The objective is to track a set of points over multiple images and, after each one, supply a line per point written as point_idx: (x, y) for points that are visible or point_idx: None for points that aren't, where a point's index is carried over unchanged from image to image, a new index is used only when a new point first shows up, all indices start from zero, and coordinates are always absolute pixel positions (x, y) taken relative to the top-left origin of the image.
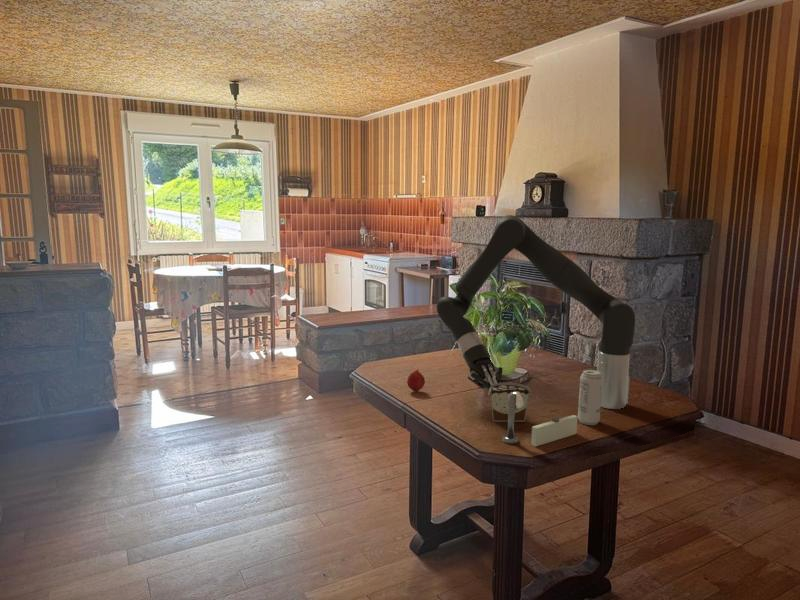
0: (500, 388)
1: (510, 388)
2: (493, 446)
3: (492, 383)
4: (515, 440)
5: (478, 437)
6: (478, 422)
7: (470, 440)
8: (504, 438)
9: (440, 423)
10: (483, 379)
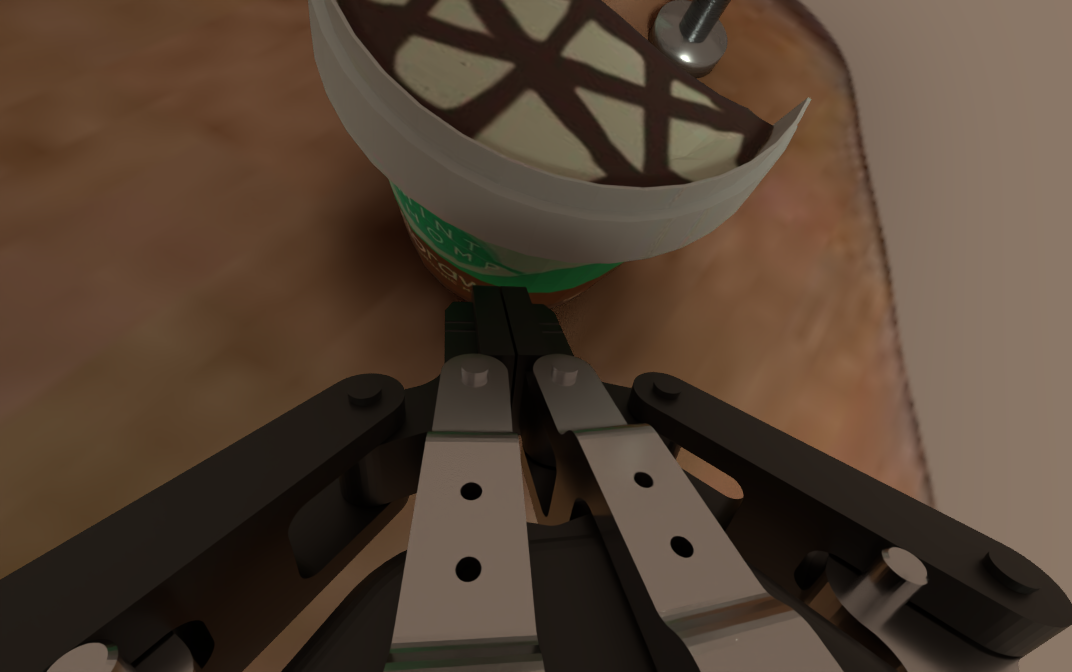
0: (623, 121)
1: (512, 42)
2: (777, 61)
3: (557, 366)
4: (688, 3)
5: (791, 158)
6: (694, 298)
7: (838, 157)
8: (725, 40)
9: (894, 405)
10: (721, 443)
